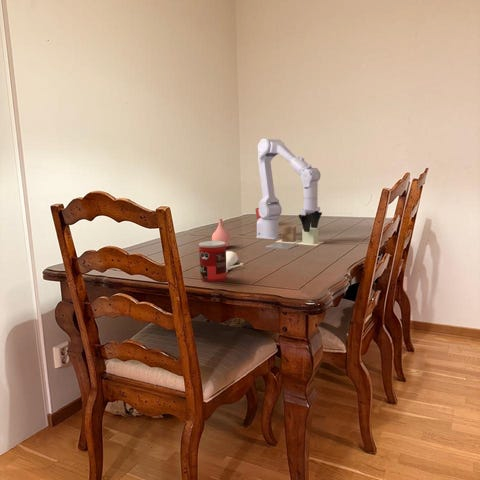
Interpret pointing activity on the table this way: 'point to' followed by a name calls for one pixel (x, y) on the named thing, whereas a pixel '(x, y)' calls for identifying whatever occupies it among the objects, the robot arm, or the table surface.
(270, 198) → the robot arm
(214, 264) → the canned food
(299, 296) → the table surface
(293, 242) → the plain tile
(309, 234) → the sage block
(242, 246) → the table surface
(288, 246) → the light grey square plate
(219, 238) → the perfume bottle
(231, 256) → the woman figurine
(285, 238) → the walnut block
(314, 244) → the tile
